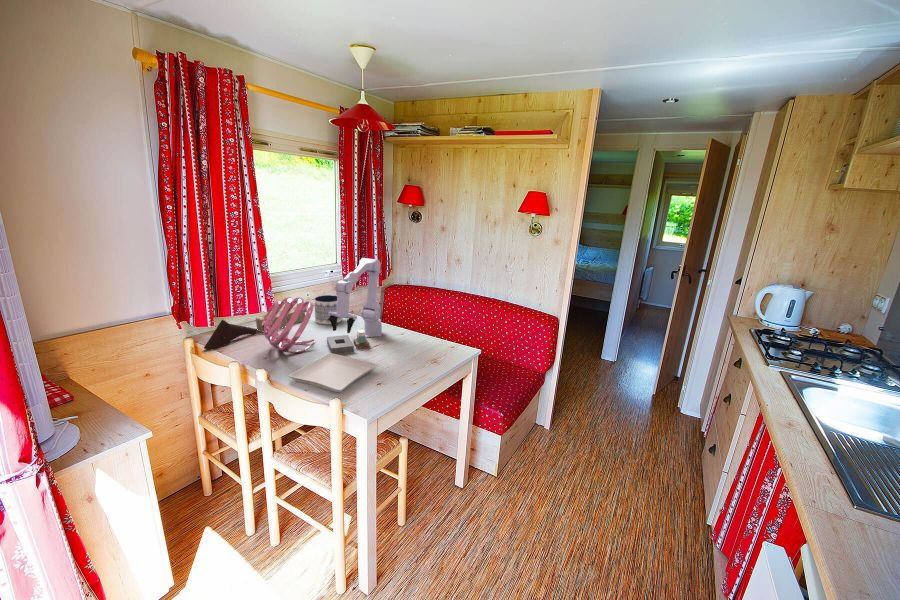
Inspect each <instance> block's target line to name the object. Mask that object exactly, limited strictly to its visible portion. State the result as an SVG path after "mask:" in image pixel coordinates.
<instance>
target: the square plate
mask: <svg viewBox="0 0 900 600" xmlns="http://www.w3.org/2000/svg"><path fill="white" fill-rule="evenodd" d="M376 366H377V364H376V363H373V362H369V361H366V360H363V359H362V360H361V359H358V358H354V357H351V356H346V355H343V354H333V353H331V352H330V353H326V354H325V355H323V356H321V357H319V358H317V359H315V360H314V361H311V362H310V363H308V364H306V365H304V366H302V367H300V368H299V369H297V370H295V371H293V372H291V373H290V374H288V375H287V377H289V378H290V379H293V380H295V381H296V382H300V383H304V384H308V385H312V386H316V387H319V388H322V389H325V390H329V391H331V392H335V393H340V392H342V391H343V390H345V389H346V388H348V387H349V386H350V385H352V384H353V383H355V382H356V381H357V380H359V379H360V378H362V377H363V376H365V375H366V374H368V373H369V372H371V371H372V370H373V369H375V368H376Z"/></svg>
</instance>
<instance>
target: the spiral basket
mask: <svg viewBox="0 0 900 600" xmlns="http://www.w3.org/2000/svg"><path fill="white" fill-rule="evenodd" d="M294 307H296V309H295V311H294V313H293V315H292V317H291V318H290V320H289V322H288V324H287V325H286V327H283V330H282V331H281V333H280V334H279V330H280V329H281V328H280V327H281V325H282V323H283V321H284V320H285V318H286V317H287V315H288V314H289V312H290V311H291V309H292V308H294ZM306 308H307V312H305V317H304V319H303V321H302V322H300V325H299V327H298V329H297V330H296V332H295V334H294V335H293V336H292V337H291V338H288V337H289V334H290V333H291V330H292V329H293V326H294V325H295V324H294V323H295V322H296V320H297V319H298V317H299V316H300V314H301V313H302V312H303V311H304V310H305V309H306ZM280 310H281V311H282V312H281V311H280ZM313 311H314V303H312V301H309V300H307V301H305V302H304V299H303V298H302V297H300V296H299V297H298V296H297V297H296V298H294V299H293V297H290V296H288V297H285V298H284V299H283V300H282V301H281V300H280V299H279V300H277V301H275V302H274V303H273V304H272V306H270V307H269V309H268V311H267V312H266V314H265V315H263V316H264V319H263V323H262V327H263V329H264V332H263V336H264V338H265V339H266V340H267V341H268V342H269V345H270V346H271V347H272V348H275V349H277V350H278V351H280V352H282V353H287V354H298V353H302V352H305V351H308V350H310V348H312V347H313V346H314V345H315V343H316V341H315V339H310V340H299V338H300V337H301V335H302V334H303V333H304V331H305V329H306V327H307V325H308V324H309V321H310V319H311V318H312V314H313ZM278 313H280V315H279V317H278V318H277V320H276V322H275V323H274V325H273V326H272V327H271V328H270V326H271V324H272V322H273V320H274V319H275V317H276V315H277V314H278ZM269 314H270V315H269ZM268 316H269V317H268ZM312 342H313V343H312ZM309 343H311V344H310V345H309V346H307V347H305V348H303V349H300V350H291V349H292V348H293V347H294V345H305V344H309ZM285 344H286V345H285Z"/></svg>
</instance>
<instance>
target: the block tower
mask: <svg viewBox="0 0 900 600" xmlns="http://www.w3.org/2000/svg"><path fill="white" fill-rule="evenodd" d="M295 309H296V306H294V307H293V308H292V309H291V311H290V312H289V314H288V315H287V317H286V318H285V320H284V321H283V323H282V325H281V327H280V329H283V328H285V326H286V325H287V324H288V322H289V320H290V318H291V317H292V315H293V313H294V311H295ZM307 310H308V307H307V308H306V309H305V310H304V311H303V312H302V313H301V314H300V316H299V317H298V319H297V320H296V322H295V323H296V324H298V322H299V323H302V321H303V319H304V317H305V315H306V313H307ZM281 312H282V310H281V311H280V312H278V314H277V315H276V317H275V319H274V320H273V322H272V324H271V326H270V328H271V327H272V326H273V325H274V323H275V322H276V320H277V318H278V317H279V315H280V313H281ZM270 314H271V313H270ZM270 314H269V315H270ZM264 316H265V315H263V316H260V317H259V316H257V317H255V323H256V329H258V330H261V331H264V329H263V327H262V323H263V319H264ZM268 317H269V316H268ZM295 323H294V325H296V324H295ZM282 327H283V328H282ZM258 330H257V331H258ZM261 331H260V332H261Z"/></svg>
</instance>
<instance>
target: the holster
mask: <svg viewBox="0 0 900 600" xmlns="http://www.w3.org/2000/svg"><path fill="white" fill-rule="evenodd" d="M257 332H258V330H257V328H253V327H249V326H244V325H237V324H233V323H229V322H227V321H226V320H224V319H221V320H220V322H219V323H218V325H217V327H216V328H215V330H214V331H213V333H212V334H211V336H210V337H209V339H208V341H207V342H206V344H205V345H204V346H203V349H205V350H211V349H214V350H216V349H220V348H222V346H223V347H225V345H228V344H229V343H230V342H232V341H233V340H236V339H237V338H239V337H241V336H245V335H247V336H249V335H255V334H254V333H256V334H257Z"/></svg>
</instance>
